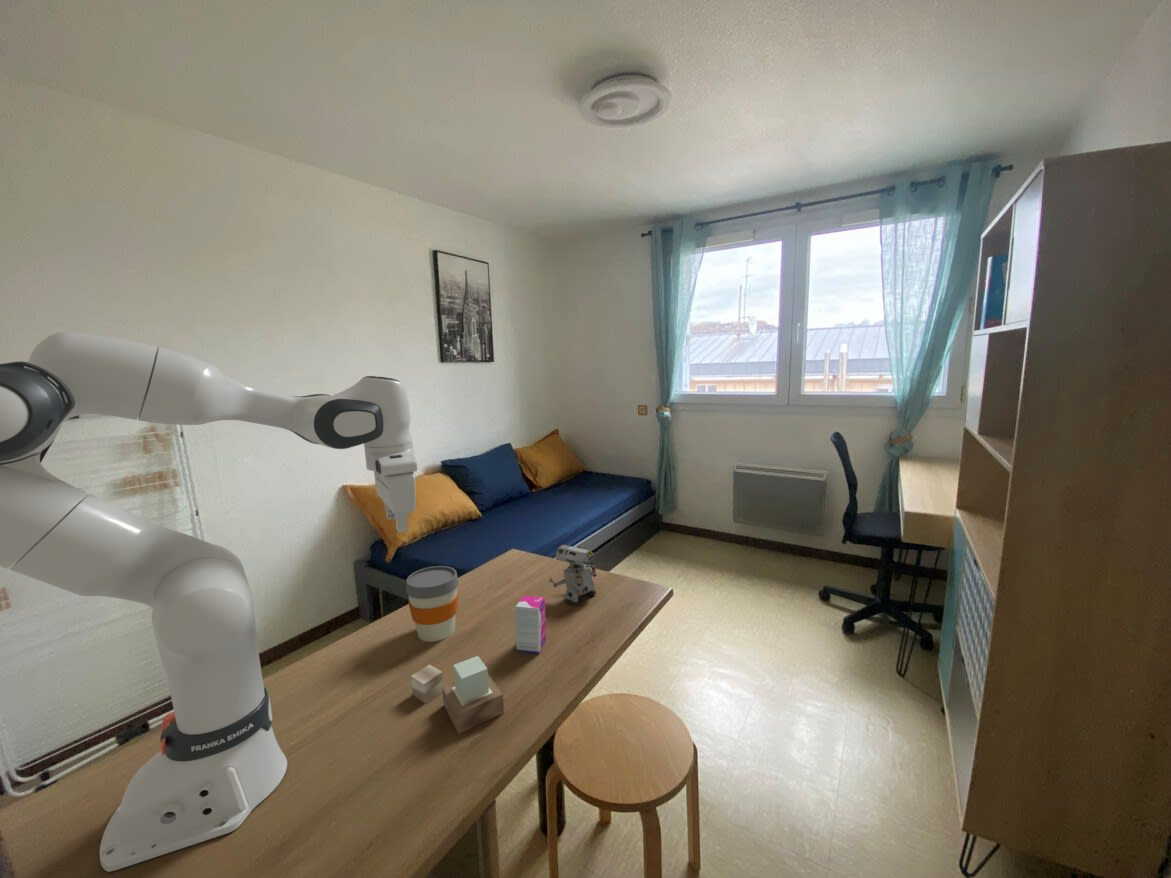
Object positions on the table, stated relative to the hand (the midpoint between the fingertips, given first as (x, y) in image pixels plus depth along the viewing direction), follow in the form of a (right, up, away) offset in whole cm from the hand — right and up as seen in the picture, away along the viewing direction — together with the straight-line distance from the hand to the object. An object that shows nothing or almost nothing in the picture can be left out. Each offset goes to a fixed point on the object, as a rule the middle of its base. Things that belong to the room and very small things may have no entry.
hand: (396, 524), depth 95 cm
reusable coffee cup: (0, -32, +24) cm, 40 cm away
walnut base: (+16, -36, -3) cm, 39 cm away
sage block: (+16, -32, -4) cm, 36 cm away
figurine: (+35, -29, +40) cm, 60 cm away
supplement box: (+26, -32, +17) cm, 45 cm away
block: (+6, -35, +2) cm, 36 cm away
